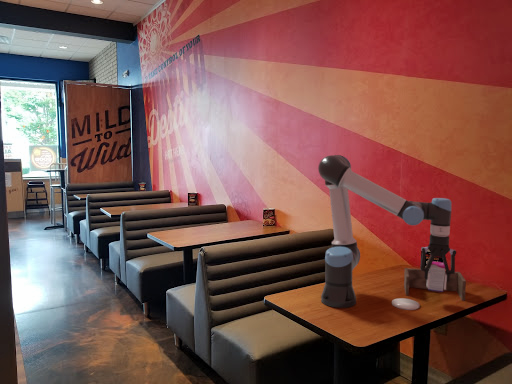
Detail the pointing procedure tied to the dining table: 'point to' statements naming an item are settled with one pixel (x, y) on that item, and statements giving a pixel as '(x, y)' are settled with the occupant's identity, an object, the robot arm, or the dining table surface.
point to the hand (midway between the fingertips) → (436, 287)
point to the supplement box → (436, 276)
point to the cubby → (418, 281)
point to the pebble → (405, 304)
